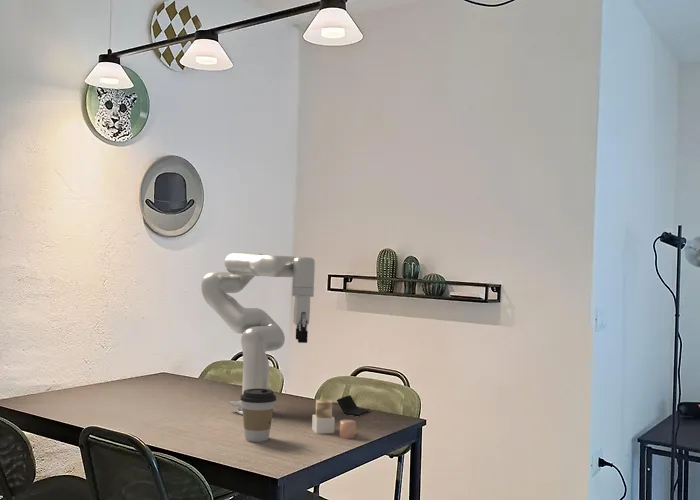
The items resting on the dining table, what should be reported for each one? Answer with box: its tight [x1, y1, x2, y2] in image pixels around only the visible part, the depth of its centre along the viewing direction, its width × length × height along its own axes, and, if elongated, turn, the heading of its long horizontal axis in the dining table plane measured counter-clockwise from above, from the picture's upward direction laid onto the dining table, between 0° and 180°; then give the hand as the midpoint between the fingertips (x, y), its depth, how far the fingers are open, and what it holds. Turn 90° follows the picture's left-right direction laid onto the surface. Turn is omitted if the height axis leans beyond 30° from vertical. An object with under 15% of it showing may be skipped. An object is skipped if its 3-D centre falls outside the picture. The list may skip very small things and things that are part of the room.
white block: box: [311, 413, 336, 435], centre depth 227 cm, size 6×6×5 cm
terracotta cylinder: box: [339, 419, 356, 440], centre depth 221 cm, size 5×5×5 cm
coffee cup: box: [239, 388, 277, 443], centre depth 214 cm, size 11×11×15 cm
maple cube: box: [315, 399, 333, 418], centre depth 228 cm, size 5×5×5 cm
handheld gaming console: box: [336, 394, 370, 417], centre depth 258 cm, size 12×7×10 cm
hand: (301, 341), depth 240 cm, fingers open, 9 cm apart
